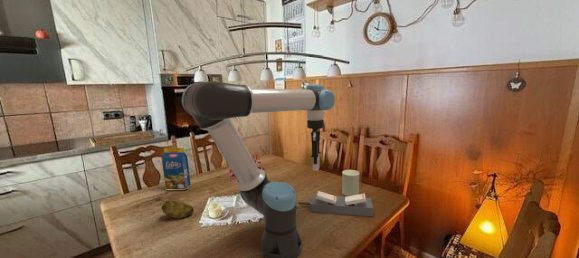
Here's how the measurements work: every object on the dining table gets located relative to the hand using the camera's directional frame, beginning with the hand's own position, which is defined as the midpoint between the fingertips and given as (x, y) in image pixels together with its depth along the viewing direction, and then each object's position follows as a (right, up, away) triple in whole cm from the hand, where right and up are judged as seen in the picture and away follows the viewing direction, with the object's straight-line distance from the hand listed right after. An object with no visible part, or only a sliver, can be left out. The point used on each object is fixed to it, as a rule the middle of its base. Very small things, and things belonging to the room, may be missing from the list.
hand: (316, 168), depth 116 cm
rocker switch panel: (+9, -19, +2) cm, 21 cm away
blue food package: (-78, -17, +31) cm, 86 cm away
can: (+21, -16, +19) cm, 32 cm away
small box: (+18, -13, -3) cm, 22 cm away
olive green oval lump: (-64, -22, -1) cm, 68 cm away
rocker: (+5, -13, 0) cm, 14 cm away
